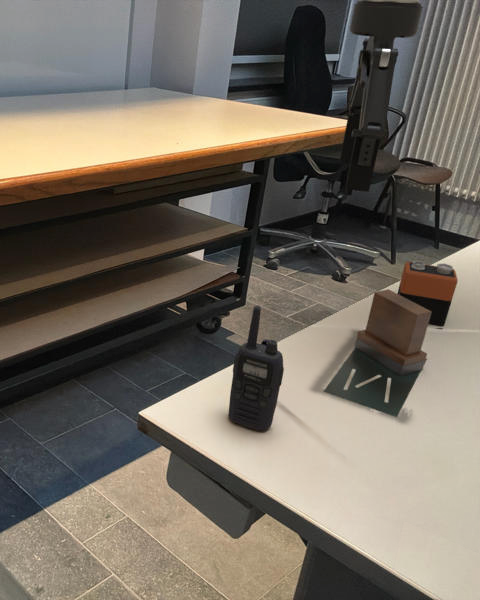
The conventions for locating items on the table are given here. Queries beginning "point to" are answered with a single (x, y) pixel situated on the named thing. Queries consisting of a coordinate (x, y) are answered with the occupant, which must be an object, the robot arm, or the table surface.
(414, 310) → the eraser
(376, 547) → the table surface
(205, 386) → the table surface
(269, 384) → the two-way radio
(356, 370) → the chalkboard
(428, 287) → the battery
